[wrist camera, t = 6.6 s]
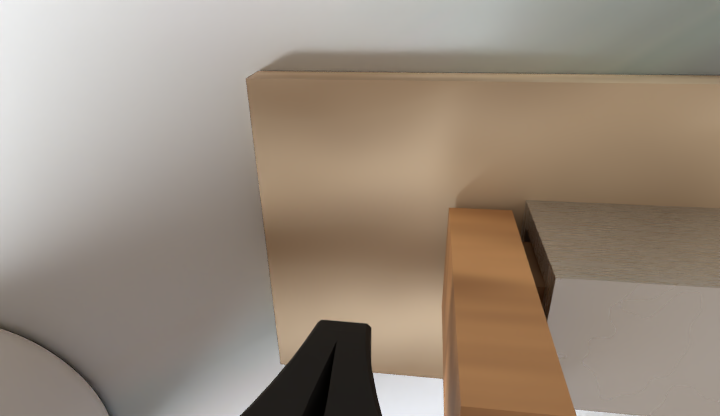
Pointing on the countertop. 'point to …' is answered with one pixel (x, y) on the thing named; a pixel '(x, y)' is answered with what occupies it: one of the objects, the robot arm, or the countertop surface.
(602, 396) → the metal sleeve
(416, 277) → the base board
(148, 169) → the countertop surface
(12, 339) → the cylinder vase
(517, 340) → the brown piece
